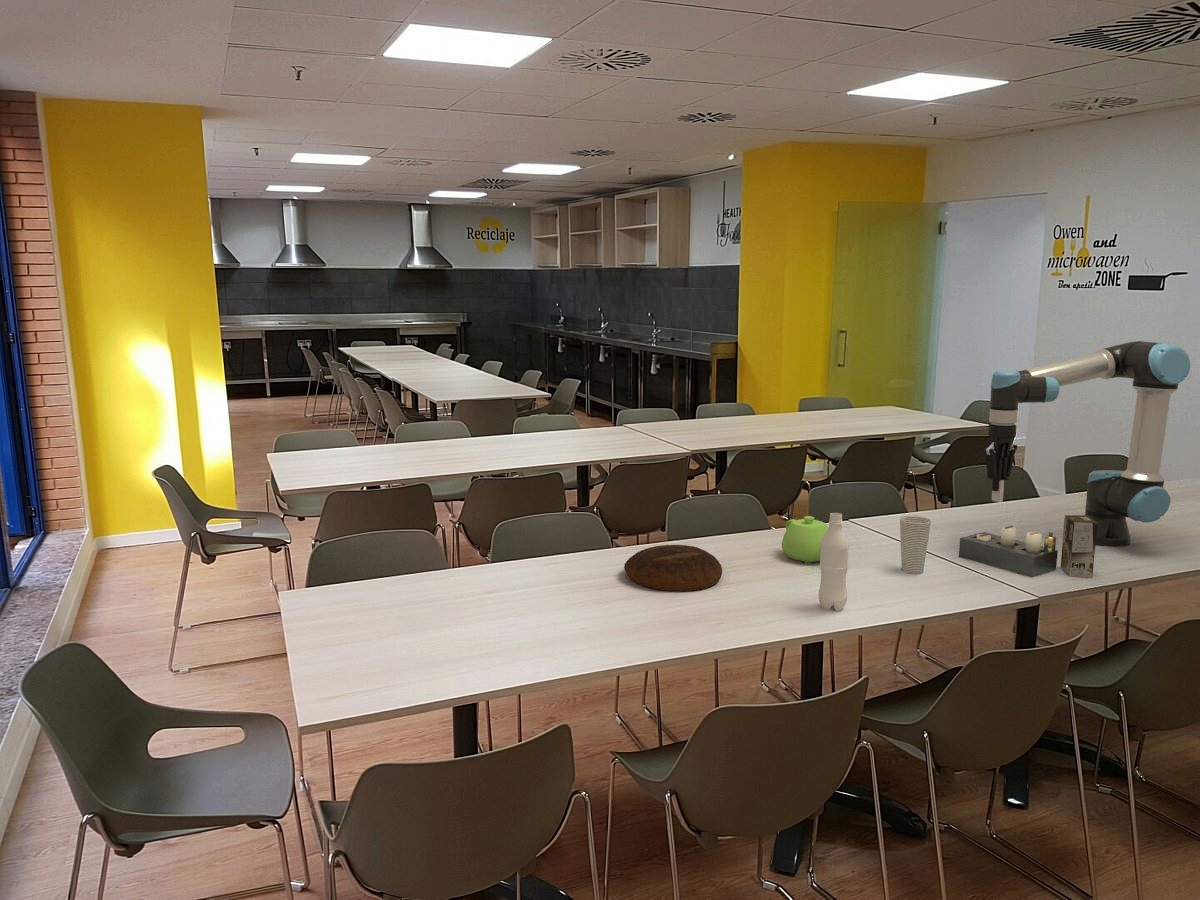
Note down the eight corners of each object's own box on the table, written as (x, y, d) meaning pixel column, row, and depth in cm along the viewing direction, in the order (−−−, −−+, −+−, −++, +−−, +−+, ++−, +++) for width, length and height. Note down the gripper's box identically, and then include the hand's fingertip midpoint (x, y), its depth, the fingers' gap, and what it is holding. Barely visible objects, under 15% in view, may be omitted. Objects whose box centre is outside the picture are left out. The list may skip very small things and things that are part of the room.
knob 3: (1030, 552, 263) (1031, 530, 262) (1043, 555, 260) (1044, 533, 259) (1022, 554, 261) (1023, 532, 260) (1034, 558, 258) (1036, 535, 257)
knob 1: (980, 553, 277) (982, 532, 276) (992, 556, 274) (993, 535, 273) (972, 555, 275) (974, 534, 274) (984, 558, 272) (985, 537, 271)
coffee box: (1093, 578, 254) (1098, 523, 251) (1068, 576, 256) (1073, 522, 253) (1083, 568, 263) (1088, 514, 260) (1059, 567, 264) (1064, 514, 261)
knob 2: (1005, 546, 270) (1006, 524, 269) (1017, 549, 267) (1019, 527, 266) (997, 548, 268) (998, 526, 267) (1009, 551, 265) (1011, 529, 263)
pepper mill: (1047, 548, 263) (1048, 530, 262) (1057, 550, 260) (1058, 533, 259) (1041, 549, 261) (1043, 532, 260) (1051, 552, 259) (1052, 534, 258)
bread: (608, 570, 266) (608, 541, 264) (688, 558, 277) (688, 530, 275) (653, 600, 240) (653, 568, 239) (739, 585, 252) (740, 555, 250)
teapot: (855, 564, 269) (856, 521, 266) (819, 572, 261) (820, 529, 259) (802, 546, 287) (803, 507, 285) (767, 554, 279) (768, 513, 277)
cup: (927, 567, 264) (930, 517, 262) (928, 576, 257) (931, 524, 254) (897, 565, 267) (900, 514, 264) (896, 573, 259) (899, 521, 257)
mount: (982, 550, 281) (983, 531, 280) (1056, 570, 261) (1057, 550, 260) (958, 556, 275) (959, 537, 274) (1032, 577, 255) (1033, 557, 254)
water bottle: (814, 603, 236) (817, 511, 232) (840, 602, 237) (844, 510, 232) (823, 612, 229) (827, 518, 225) (850, 611, 230) (854, 517, 225)
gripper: (1004, 419, 271) (999, 495, 275) (977, 423, 264) (972, 501, 268) (1027, 423, 265) (1021, 500, 269) (1000, 427, 258) (994, 506, 262)
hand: (997, 501), depth 269 cm, fingers closed
